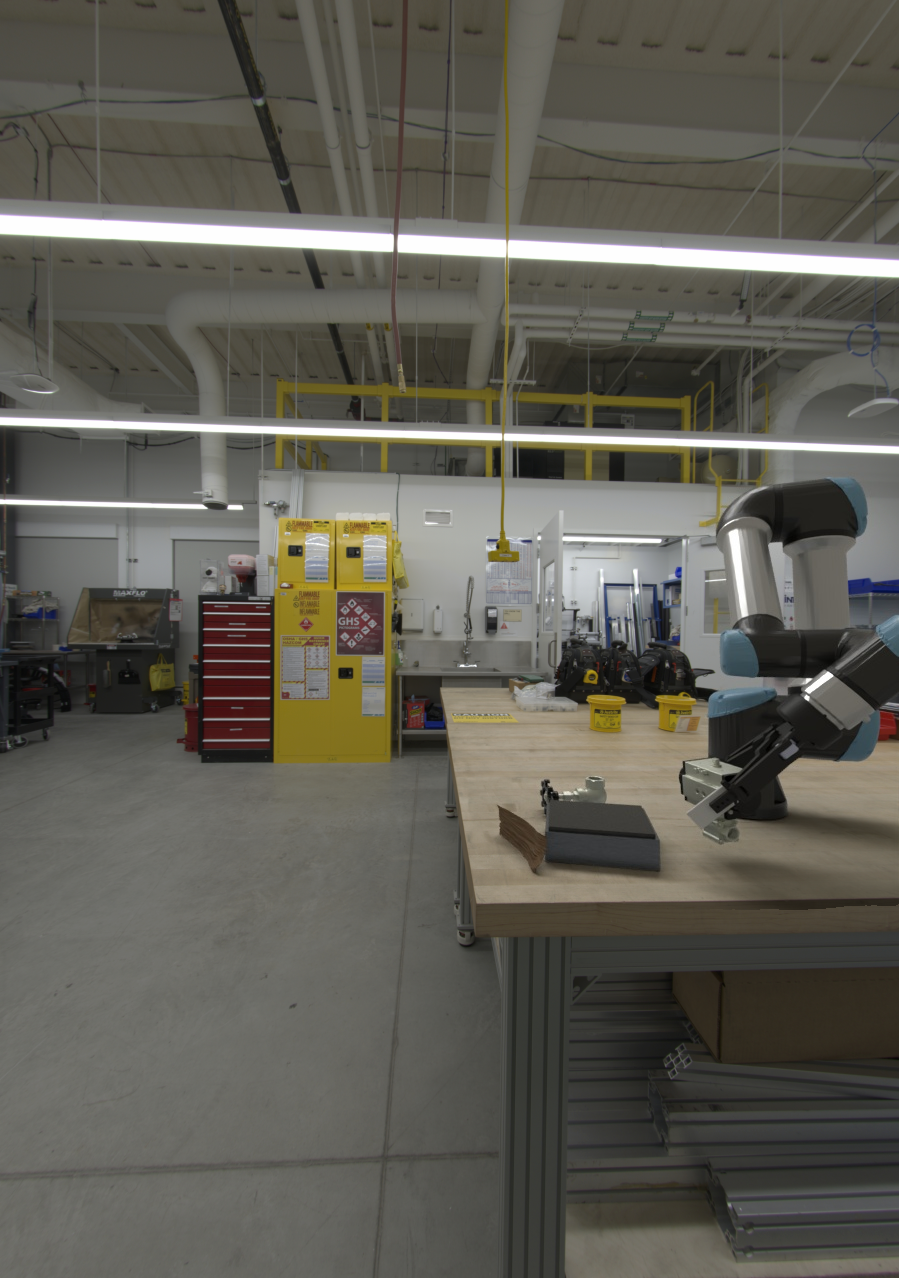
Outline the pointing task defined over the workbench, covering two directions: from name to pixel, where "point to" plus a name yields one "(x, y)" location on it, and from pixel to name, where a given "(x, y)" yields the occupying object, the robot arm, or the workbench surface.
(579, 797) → the valve
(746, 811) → the pneumatic valve
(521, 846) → the wood plank
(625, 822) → the stand
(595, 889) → the workbench surface
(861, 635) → the robot arm
